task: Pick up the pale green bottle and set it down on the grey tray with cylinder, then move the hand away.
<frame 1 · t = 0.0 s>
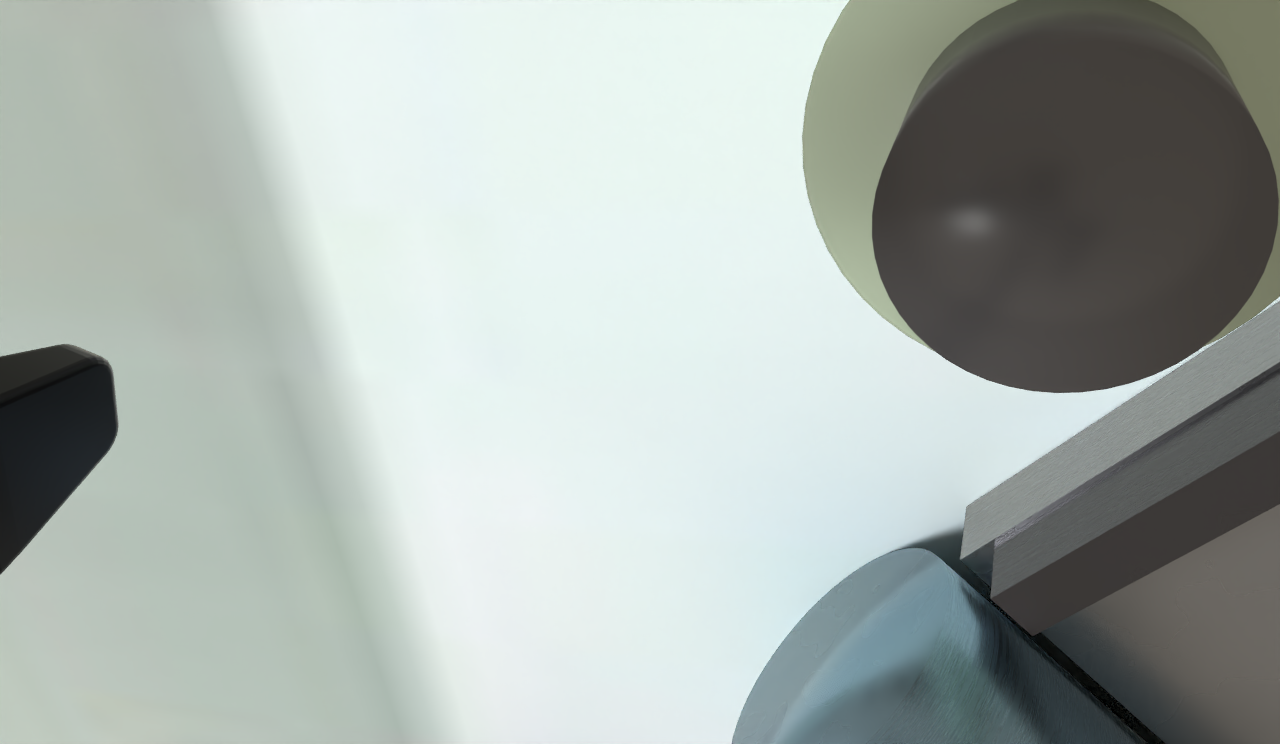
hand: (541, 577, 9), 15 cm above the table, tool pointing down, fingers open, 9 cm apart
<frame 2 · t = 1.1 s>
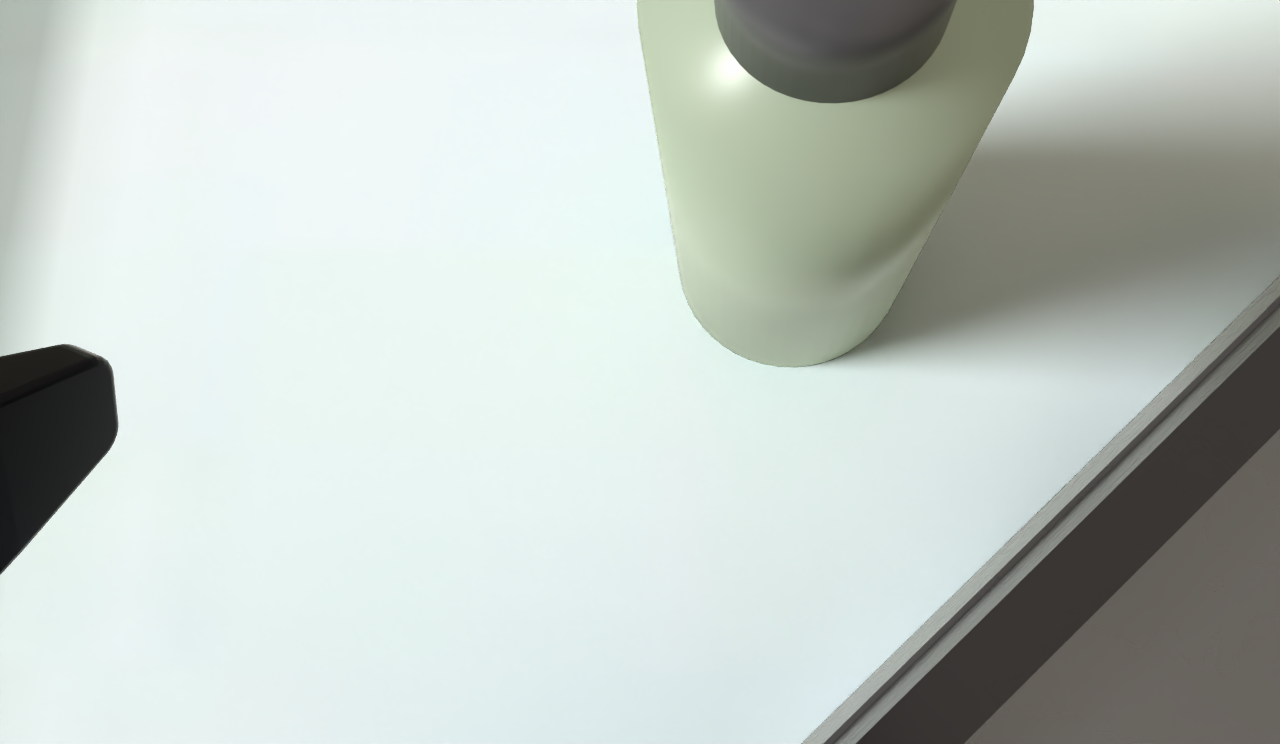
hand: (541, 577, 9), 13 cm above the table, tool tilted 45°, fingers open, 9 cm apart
pale green bottle: (789, 259, 23), on the table
grey tray with cylinder: (1254, 733, 20), on the table
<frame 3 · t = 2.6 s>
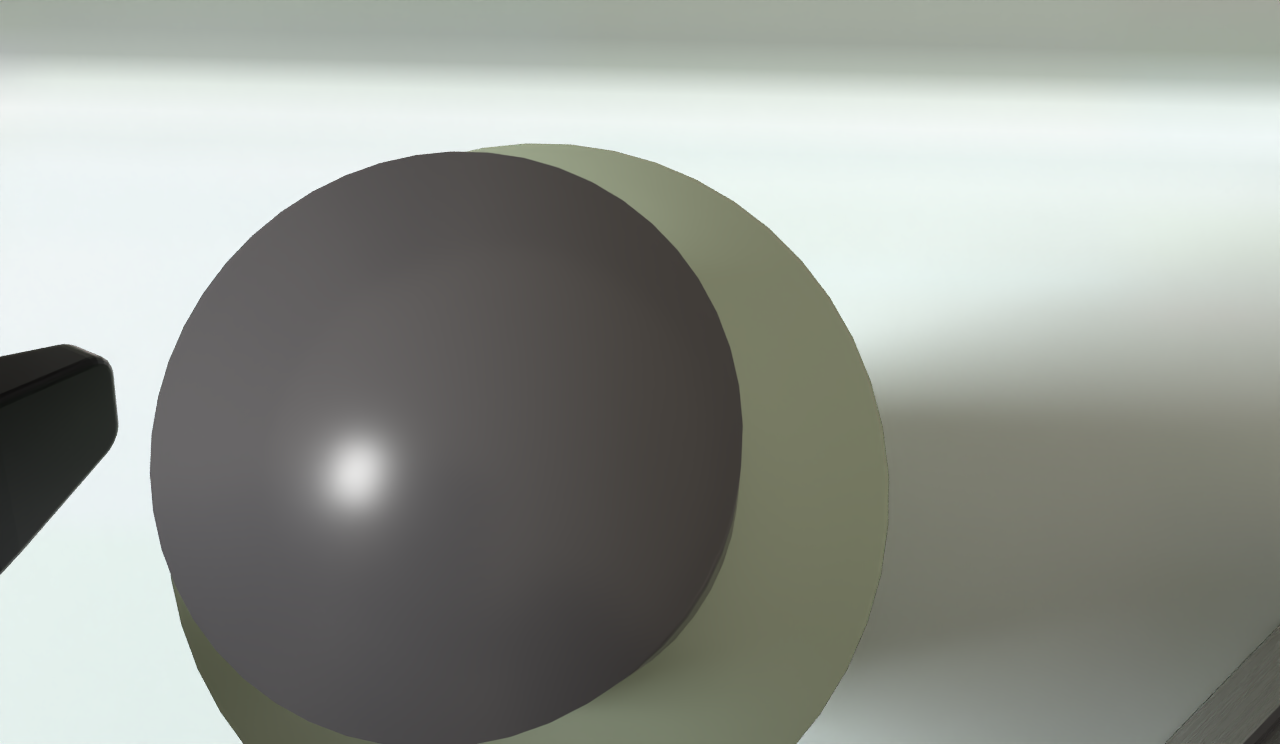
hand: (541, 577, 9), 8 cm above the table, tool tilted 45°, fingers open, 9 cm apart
pale green bottle: (641, 558, 17), on the table
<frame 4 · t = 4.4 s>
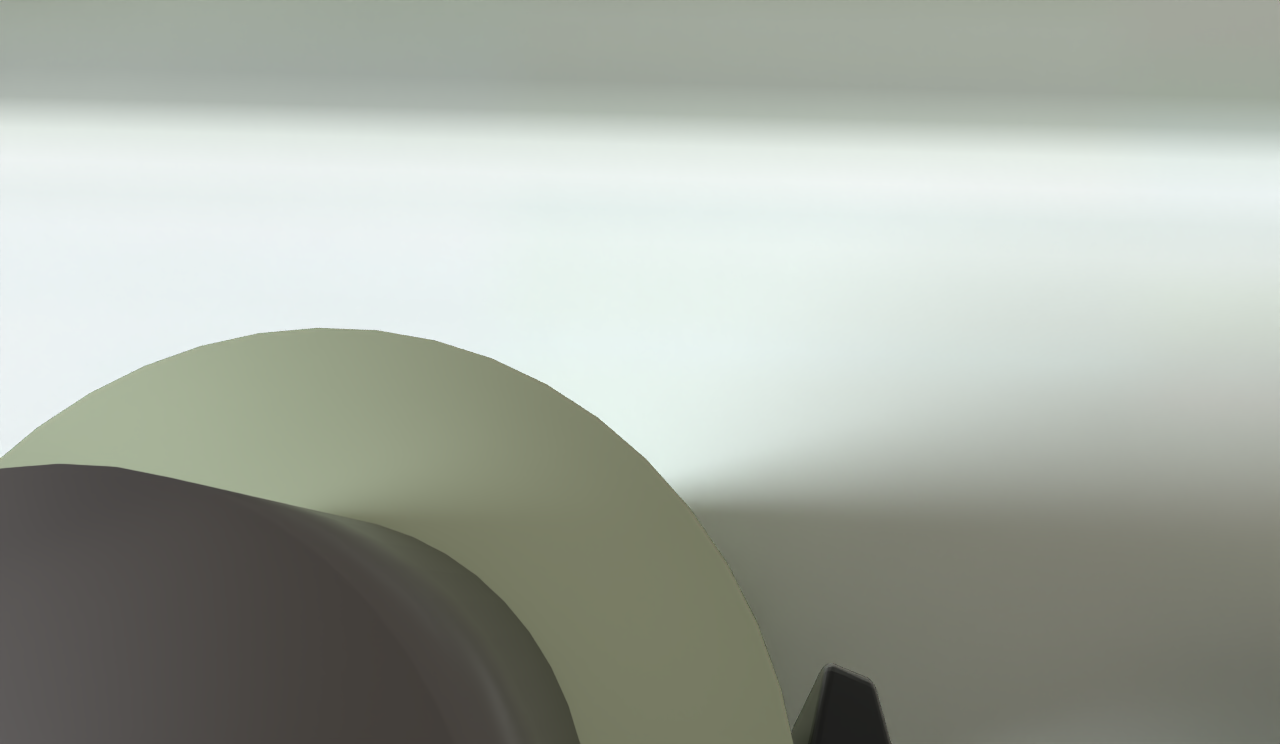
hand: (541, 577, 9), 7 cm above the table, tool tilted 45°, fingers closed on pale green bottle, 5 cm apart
pale green bottle: (584, 677, 15), on the table, touching gripper
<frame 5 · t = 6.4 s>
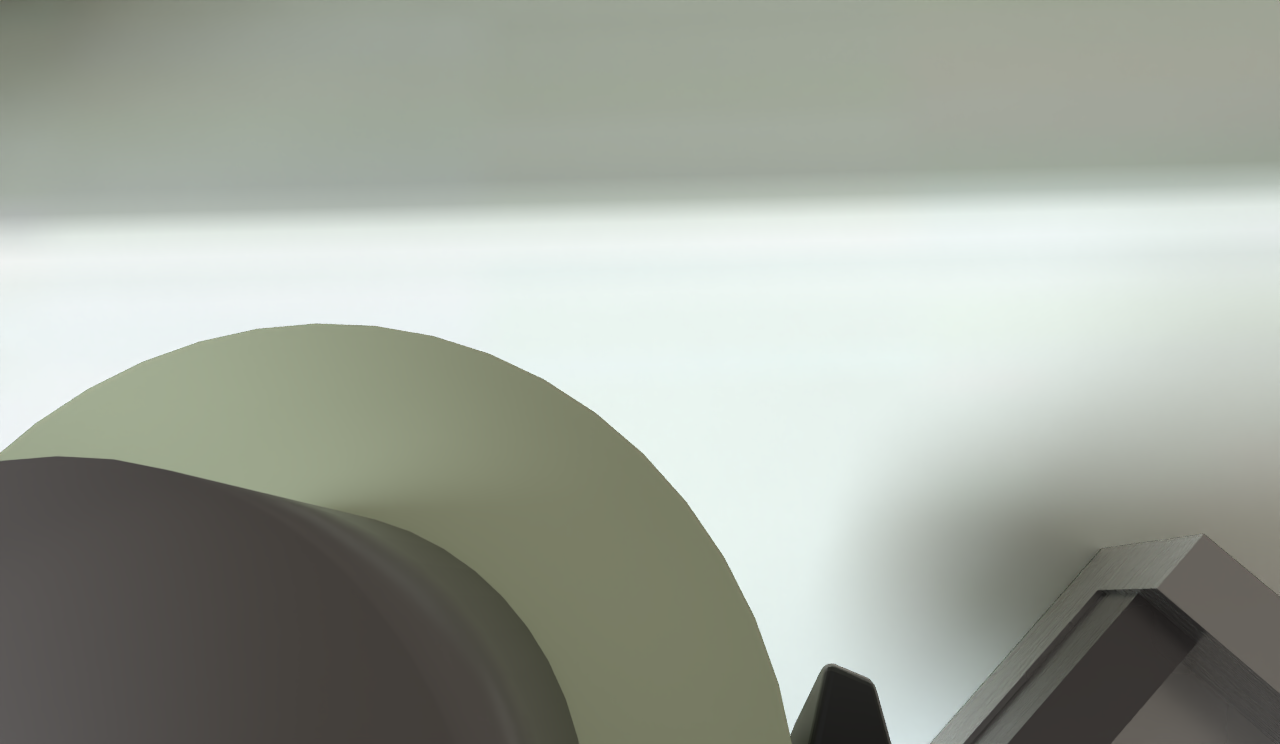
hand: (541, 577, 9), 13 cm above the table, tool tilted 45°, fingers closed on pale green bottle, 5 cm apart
pale green bottle: (583, 676, 15), point 7 cm above the table, touching gripper
when the fingers open (10 cm above the table, at t = 8.6 s): pale green bottle drops 1 cm, resting on grey tray with cylinder.
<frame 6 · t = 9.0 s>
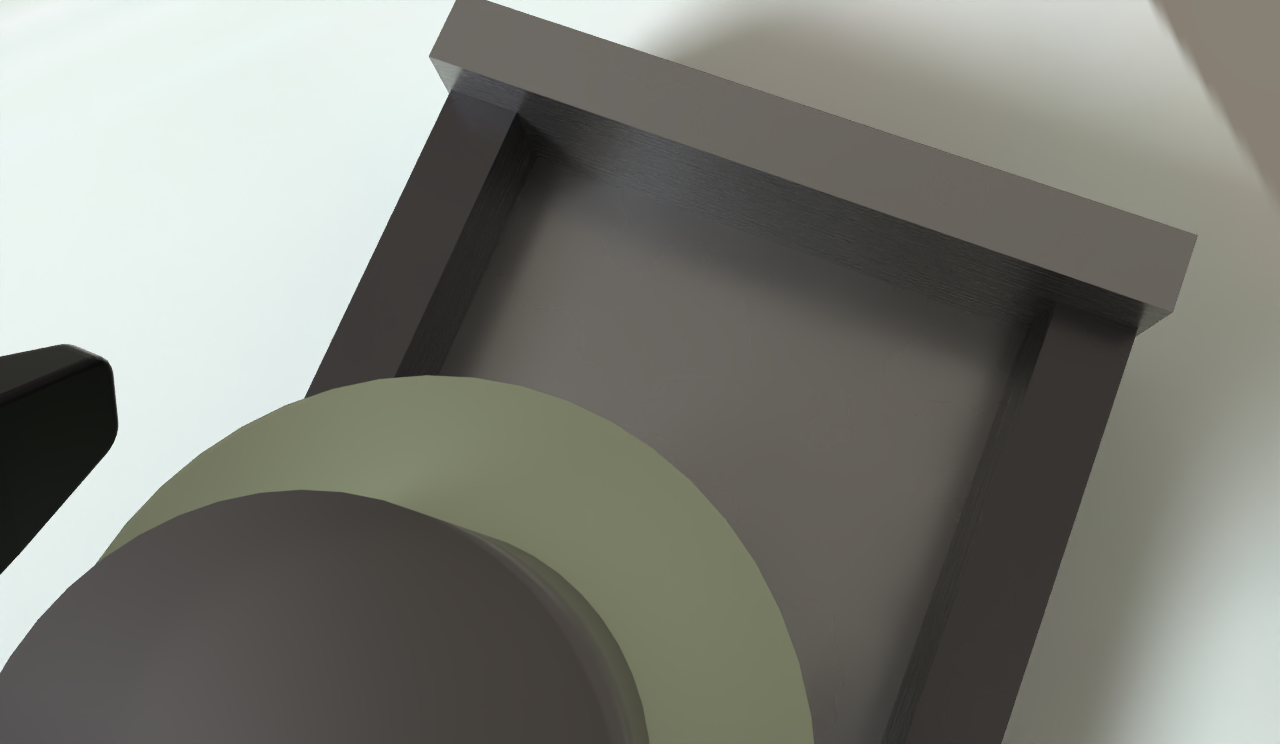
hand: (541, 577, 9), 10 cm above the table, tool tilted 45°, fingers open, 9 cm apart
pale green bottle: (594, 673, 17), point 2 cm above the table, touching grey tray with cylinder
grey tray with cylinder: (611, 664, 19), on the table
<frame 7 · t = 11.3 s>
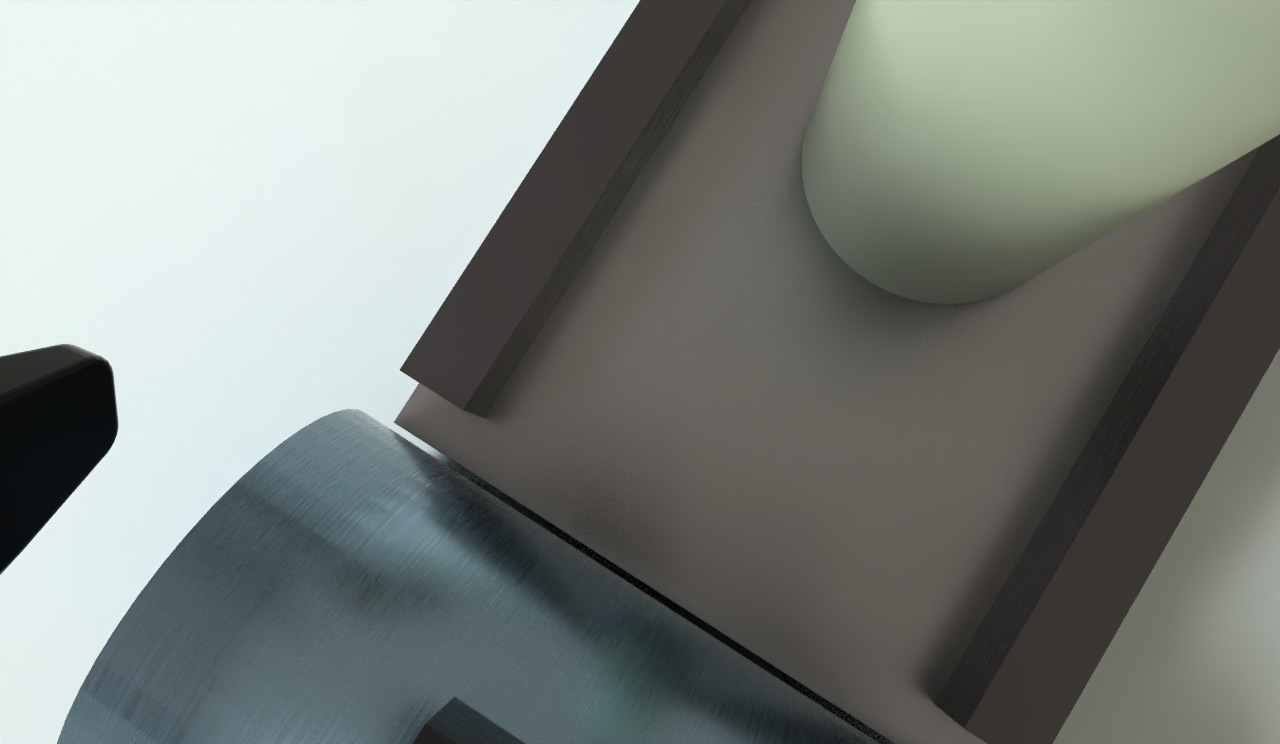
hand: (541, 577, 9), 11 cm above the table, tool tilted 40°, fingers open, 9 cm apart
pale green bottle: (943, 164, 18), point 2 cm above the table, touching grey tray with cylinder
grey tray with cylinder: (918, 196, 20), on the table
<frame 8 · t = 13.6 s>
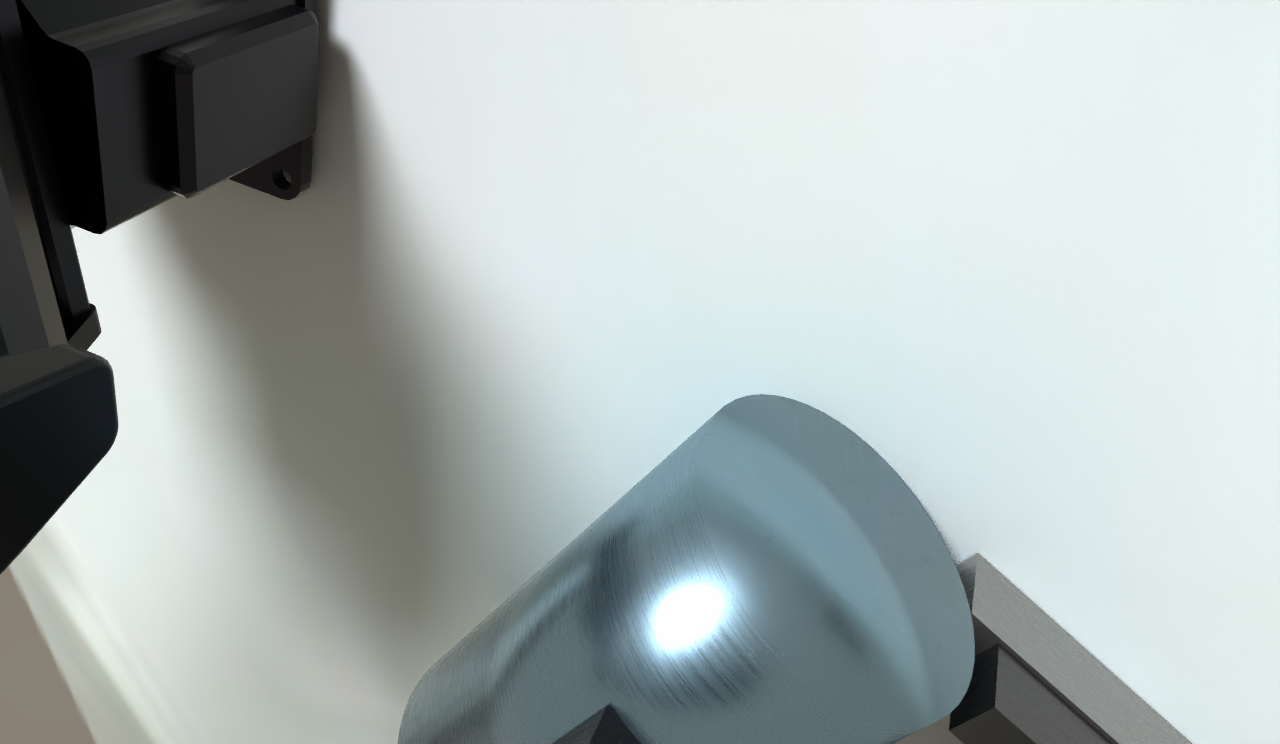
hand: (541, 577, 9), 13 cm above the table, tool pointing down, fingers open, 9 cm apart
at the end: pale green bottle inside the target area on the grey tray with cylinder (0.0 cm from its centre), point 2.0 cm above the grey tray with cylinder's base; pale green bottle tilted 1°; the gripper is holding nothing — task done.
